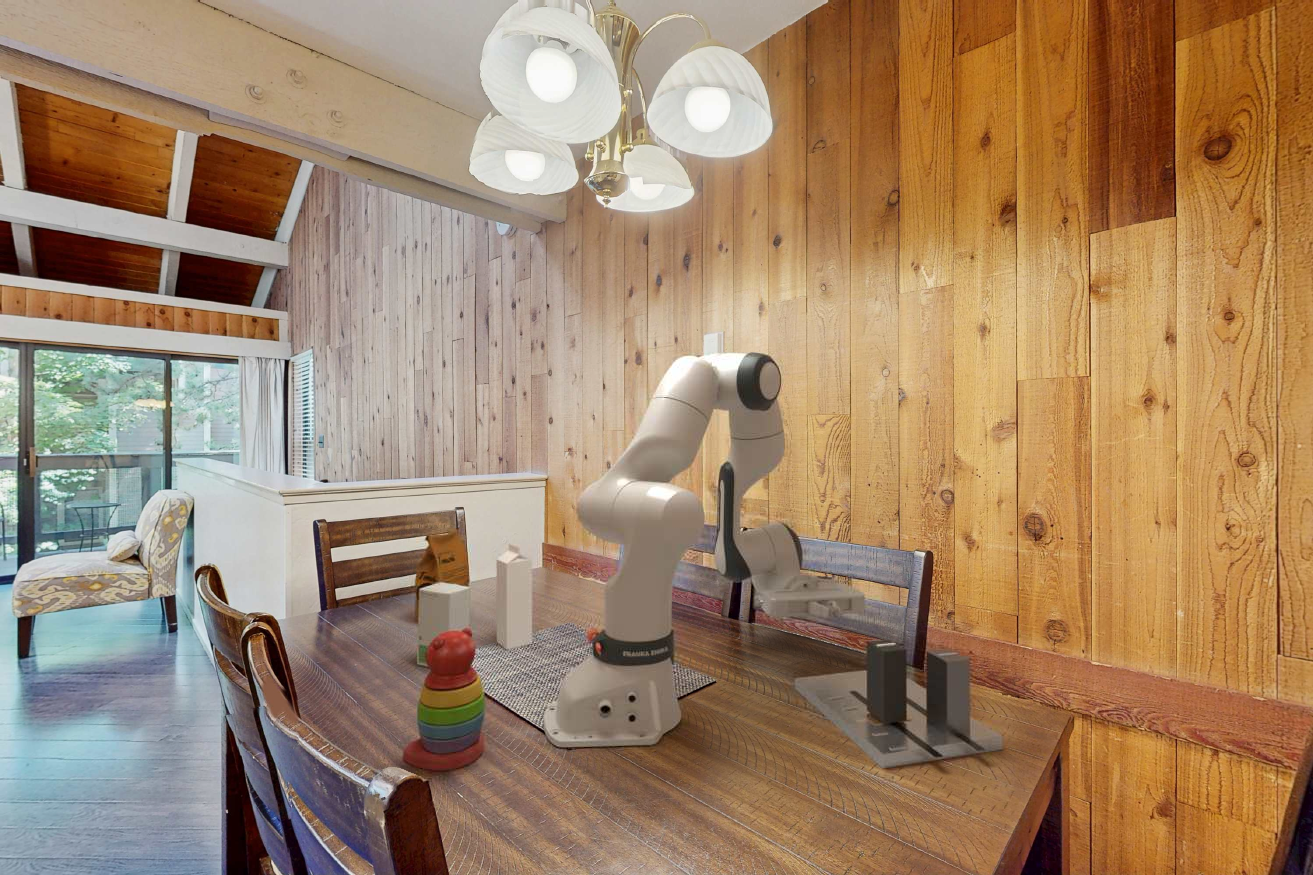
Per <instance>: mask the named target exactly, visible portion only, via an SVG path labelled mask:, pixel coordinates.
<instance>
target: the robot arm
mask: <svg viewBox="0 0 1313 875" xmlns="http://www.w3.org/2000/svg"><path fill="white" fill-rule="evenodd" d="M781 374H782V373H781V369H780V368H779V365H778V364H777V363H776V362H775V359H773V358H772V357H771V356H770V355H768V354H765V353H760V352H754V351H753V352H751V351H750V352H748V353H744V352H717V353H715V352H714V353H710V354H706V355H686V356H685V355H684V356H682V357H680V358H677V359H676V360H675V361H673V362H672V363H671V365H670V366H669V368H668V369H667V371H666V372H665V373H664V376H663V377H662V379H661V381H660V382H659V384H658V386H657V388H656V389H655V391H654V393H653V395H652V398H651V400H650V402H649V405H648V407H647V408H646V411H645V413H644V415H643V418H642V420H641V422H640V424H639V426H638V429H637V430H636V432H635V434H634V436H633V437H632V440H631V442H630V443H629V445H628V446H627V447H626V449H625V450H624V451H623V453H622V454H621V455H620V456H619V458H618V459H617V460H616V461H615V463H614V464H612V466H611V467H610V468H609V470H608V471H606V473H605V474H603V476H602V477H600V478H599V479H598V480H596V481H594V482H593V483H591V484H590V485H588V486H587V487H586V488H585V489H584V491H583V492H582V493H581V495H580V497H579V500H578V503H577V504H578V505H577V517H578V520H579V522H580V524H581V526H582V527H583V528H584V529H585V530H586V531H587V532H588V533H590V534H592V535H593V536H595V537H596V538H598V539H600V540H602V541H604V542H607V543H608V542H609V543H613V544H617V545H622V546H623V554H622V555H623V556H622V559H621V560H622V561H621V563H620V567H619V568H618V571H617V572H615V573H614V574H613V575H611V576H610V577H609V578H608V580H607V581H606V582H605V583H606V584H605V586H604V628H603V629H602V630H601V631H600V632H599V631H598V629H596V628H590V629H588V631H587V632H586V637H587V640H588V642H589V643H591V646H592V647H591V651H592V653H591V655H589V656H588V657H587V658H586V659H584V661H582V662H581V663H580V664H578V665H577V666H576V667H575V668H573V669H572V670H571V671H570V672H568V673H567V674H566V675H565V676H564V678H563V679H562V682H561V685H560V687H559V692H558V695H557V700H554V701H552V702H551V703H549V705H547V707H546V708H545V711H544V716H543V729H544V733H545V734H544V735H545V736H546V738H547V739H548V741H549V742H551V744H553V745H554V746H556V747H557V748H558V747H559V748H584V747H589V748H590V747H618V746H619V747H621V746H626V747H627V746H653V745H655V744H657V743H659V741H660V740H661V739H662V737H663V735H664V734H666V733H667V732H669V731H671V730H672V729H674V728H675V727H676V726H677V725H678V724H679V723H680V721H681V720H682V710H681V708H680V705H679V700H678V696H677V691H676V686H675V685H676V684H675V677H674V664H675V655H676V654H675V652H676V651H675V650H676V646H675V644H676V643H675V642H676V641H675V636H674V634H675V633H674V630H673V629H672V603H673V600H672V598H673V586H674V580H675V576H676V573H677V569H678V567H679V564H680V562H681V560H682V558H683V557H684V555H685V554H686V553H687V552H688V551H690V550H691V549H692V548H693V547H695V545H696V544H697V543H698V542H699V540H700V538H701V537H702V534H703V532H704V529H705V522H706V520H705V519H706V517H705V510H704V506H703V504H702V501H701V500H700V498H699V496H697V495H696V494H695V493H694V492H692V491H690V490H688V489H685V488H683V487H680V486H679V485H675V484H672V483H670V482H671V481H672V480H673V479H674V478H675V477H676V476H678V475H680V474H681V473H683V472H684V471H686V470H687V469H689V468H690V467H691V465H692V464H693V463H694V461H696V460H695V459H696V457H697V455H698V453H699V450H700V448H701V444H702V442H703V440H704V437H705V434H706V431H707V429H708V427H709V424H710V421H711V419H712V416H713V412H714V410H721V411H724V412H725V411H727V412H728V425H729V426H728V427H729V436H730V446H729V447H730V448H729V452H728V456H727V458H726V460H725V462H724V463H723V464H722V465H721V466H720V468H719V473H718V480H717V481H718V482H717V508H716V509H717V512H716V537H715V543H714V551H713V554H714V562H715V565H716V569H717V572H718V573H719V574H720V575H721V576H722V577H723V578H725V579H726V580H729V581H731V582H734V583H738V584H739V583H741V582H743V581H746V580H747V579H748V580H749V579H751V583H752V586H753V587H754V589H755V590H756V592H757V593H758V595H755V596H754V597H753V599H754V602H756V603H759V604H761V609H762V611H764V613H765V614H766V615H768V616H769V617H772V618H789V617H790V618H791V617H794V618H796V619H803V618H806V617H807V618H808V617H810V616H811V617H813V616H819V617H823V618H825V619H830V618H834V619H835V618H841V615H843V614H844V615H847V614H863V613H864V612H865V610H866V596H865V594H864V593H863V592H862V591H860V590H859V589H857V588H854V587H853V586H850V585H848V584H846V583H842V582H840V581H839V579H838V578H836V577H833V576H832V577H831V576H821V575H813V574H810V573H807V572H802V571H801V569H802V567H803V560H804V558H803V556H804V555H803V548H802V547H803V546H802V544H801V540H800V538H799V536H798V535H797V533H796V532H795V531H794V530H793V529H792V528H791V527H790V526H789V525H788V524H786V523H784V522H781V521H779V520H777V521H775V522H771V523H766V524H763V525H759V526H758V527H754V528H751V529H748V530H742V531H741V508H742V507H741V506H742V500H743V497H744V496H745V494H746V493H747V491H748V490H750V489H751V488H752V487H753V486H754V485H755V484H756V483H758V482H759V481H760V480H762V479H763V478H765V477H766V476H768V475H769V474H770V473H772V472H773V471H774V470H775V469H776V468H778V466H780V463H781V462H782V460H783V458H784V455H785V452H786V438H785V436H786V435H785V430H784V429H785V428H784V422H783V416H782V412H781V409H780V403H779V400H778V397H779V394H780V392H781V387H782V375H781Z"/></svg>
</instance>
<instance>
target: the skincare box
mask: <svg viewBox="0 0 1313 875" xmlns="http://www.w3.org/2000/svg"><path fill="white" fill-rule="evenodd" d="M470 604H471V587H470V586H469V587H466V586H460V585H457V584H448V583H442V582H440V583H436V584H433V585H430V586H427V587H424V588H421V589H419V615H418V622H417V650H416V651H417V652H416V654H417V656H416V664H417V665H418V666H422V667H427V668H429V667H428V665H427V663H426V660H425V651H426V649H427V647H428V646H429V644H430V643H431V642H432V641H433V639H434V638H436V637H437V636H438V635H440V634H442V633H444V632H448V631H462V630H463V629H464V628H469V629H470V607H471V605H470Z"/></svg>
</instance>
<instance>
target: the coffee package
mask: <svg viewBox="0 0 1313 875" xmlns="http://www.w3.org/2000/svg"><path fill="white" fill-rule="evenodd" d="M424 540H425V541H426V542H427V544H428V546H427V547H426V549H425V551H424V556H423V558H422V559H421V561H420V563H419V565H418V567H417V570H416V574H415V575H416V576H415V579H414V588H415V599H414V600H415V603H414V617H415V620H416V622H417V623H418V615H419V589H421V588H424V587H427V586H430V585H433V584H436V583H440V582H442V583H448V584H457V585H460V586H466V587H470V584H469V583H470V582H469V581H470V580H469V579H470V578H469V577H470V575H469V574H470V573H469V561H468V553H467V551H466V547H465V545H464V542H463V541H462V538H461V535H460V533H459V530H458V529H453V530H452V531H449V533H445V534H431V535H429V534H426V536H425V538H424Z"/></svg>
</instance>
